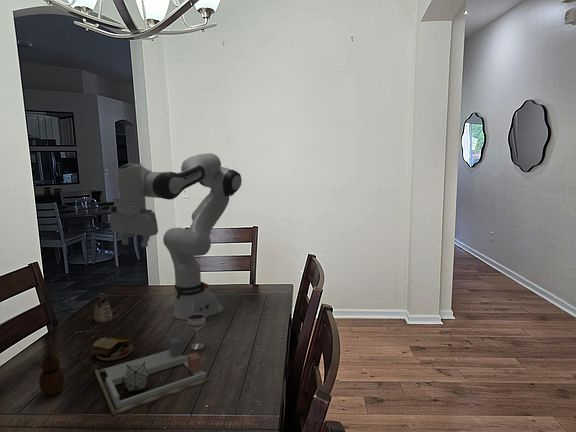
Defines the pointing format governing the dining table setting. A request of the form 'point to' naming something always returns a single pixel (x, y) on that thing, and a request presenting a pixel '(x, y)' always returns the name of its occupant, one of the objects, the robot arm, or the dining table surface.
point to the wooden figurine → (51, 375)
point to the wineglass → (196, 326)
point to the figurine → (102, 309)
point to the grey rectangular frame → (189, 361)
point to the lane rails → (143, 400)
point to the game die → (136, 378)
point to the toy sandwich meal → (111, 349)
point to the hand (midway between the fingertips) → (134, 245)
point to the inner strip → (149, 359)
